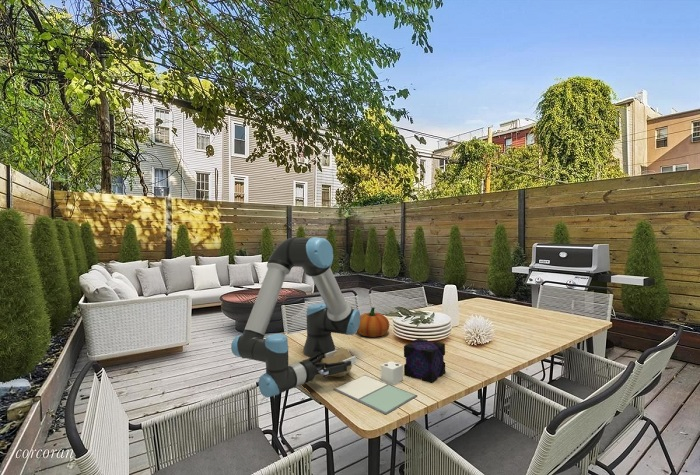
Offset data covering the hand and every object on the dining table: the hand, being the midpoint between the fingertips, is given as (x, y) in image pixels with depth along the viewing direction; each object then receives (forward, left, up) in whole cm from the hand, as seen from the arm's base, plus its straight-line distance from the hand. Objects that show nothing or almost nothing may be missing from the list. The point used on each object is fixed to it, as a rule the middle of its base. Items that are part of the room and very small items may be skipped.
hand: (346, 356), depth 139 cm
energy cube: (+23, +22, -8) cm, 32 cm away
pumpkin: (-29, +48, -8) cm, 56 cm away
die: (+17, +8, -7) cm, 20 cm away
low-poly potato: (-1, -4, -7) cm, 8 cm away
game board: (+19, -4, -7) cm, 21 cm away
